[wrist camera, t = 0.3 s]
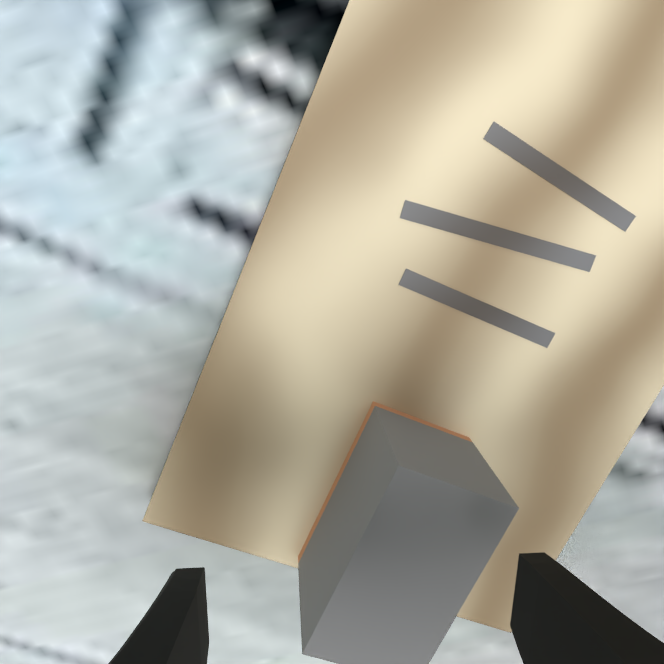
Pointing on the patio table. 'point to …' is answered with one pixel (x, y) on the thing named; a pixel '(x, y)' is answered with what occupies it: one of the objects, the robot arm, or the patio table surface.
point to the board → (445, 274)
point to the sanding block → (398, 542)
